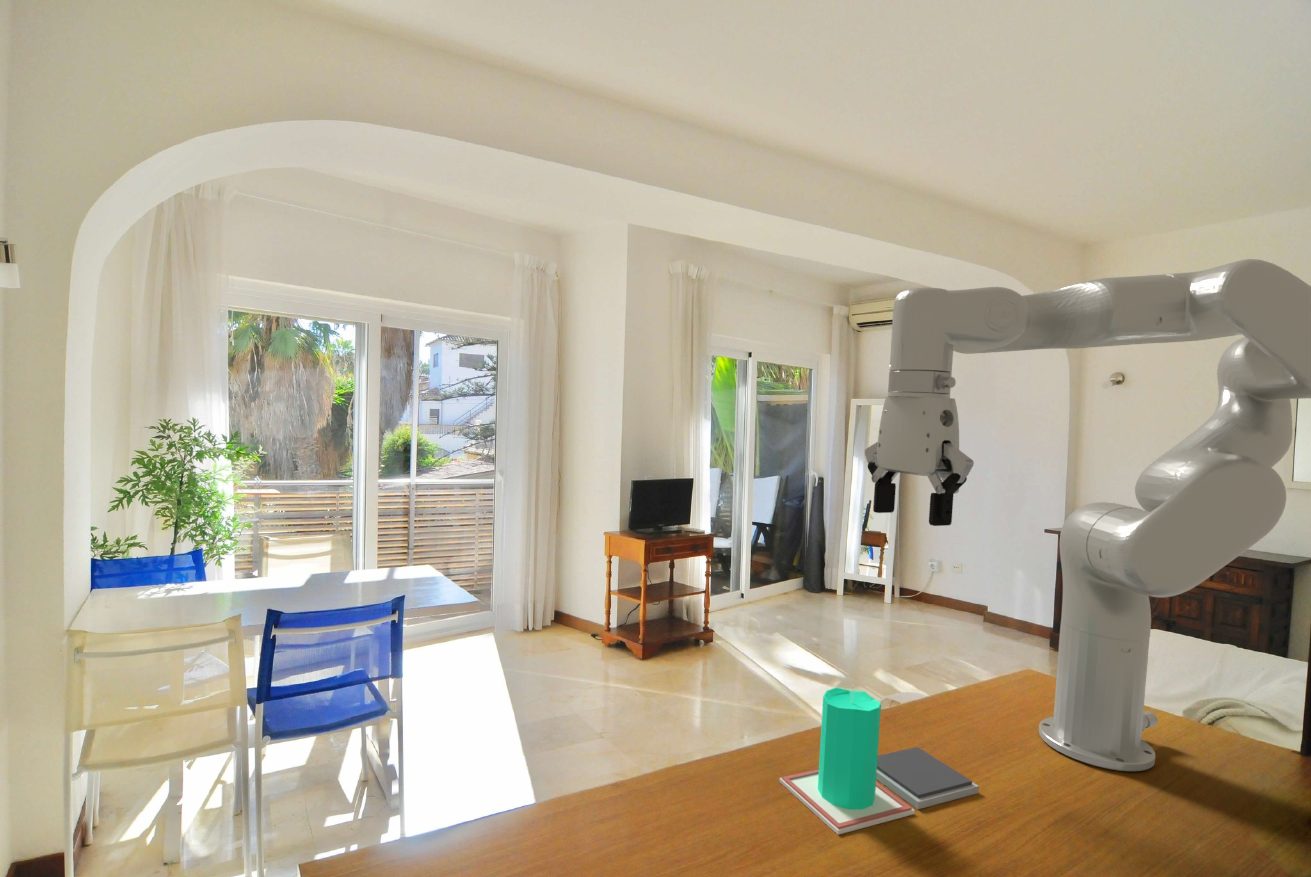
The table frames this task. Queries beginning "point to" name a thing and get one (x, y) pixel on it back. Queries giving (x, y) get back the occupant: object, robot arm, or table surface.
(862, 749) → the candle
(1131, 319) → the robot arm
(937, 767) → the ink pad
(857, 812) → the marked card
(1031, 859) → the table surface
